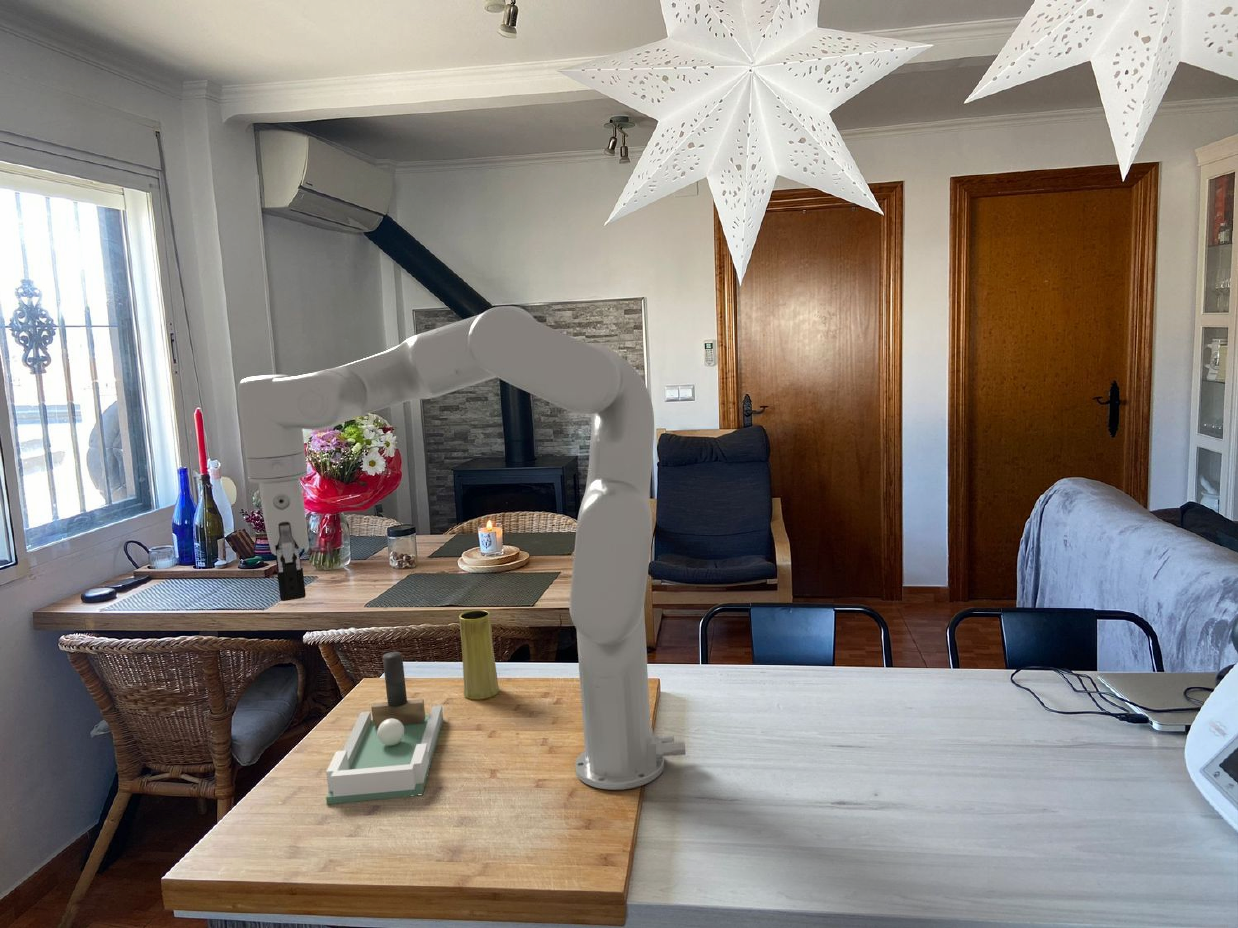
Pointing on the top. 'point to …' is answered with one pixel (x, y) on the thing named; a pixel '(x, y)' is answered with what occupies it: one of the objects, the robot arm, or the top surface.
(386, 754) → the pitch
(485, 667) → the vase
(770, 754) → the top surface
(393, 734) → the ball
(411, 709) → the striker
